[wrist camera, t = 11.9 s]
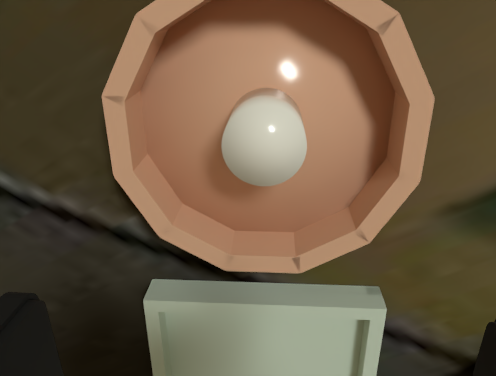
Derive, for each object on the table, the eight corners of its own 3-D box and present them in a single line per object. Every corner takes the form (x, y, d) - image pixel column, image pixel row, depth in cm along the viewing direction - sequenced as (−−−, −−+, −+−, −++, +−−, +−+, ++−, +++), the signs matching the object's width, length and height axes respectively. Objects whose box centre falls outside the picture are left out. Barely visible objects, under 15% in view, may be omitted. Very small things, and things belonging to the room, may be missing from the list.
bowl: (430, -38, 23) (459, -44, 19) (388, 242, 30) (403, 276, 26) (111, -34, 24) (81, -40, 20) (144, 235, 31) (126, 267, 27)
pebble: (303, 87, 25) (309, 105, 21) (300, 158, 27) (304, 187, 23) (229, 87, 25) (220, 104, 21) (230, 157, 27) (222, 185, 23)
